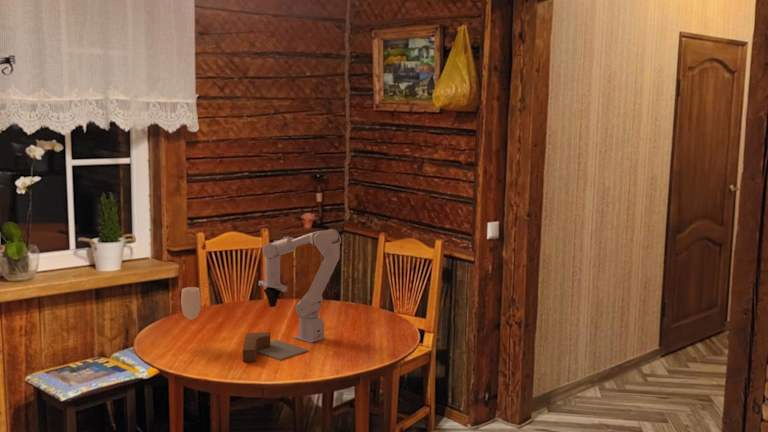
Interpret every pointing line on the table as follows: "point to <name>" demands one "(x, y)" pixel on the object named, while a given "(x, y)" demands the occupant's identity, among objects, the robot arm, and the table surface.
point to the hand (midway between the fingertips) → (272, 306)
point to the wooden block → (254, 345)
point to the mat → (281, 350)
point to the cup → (191, 302)
